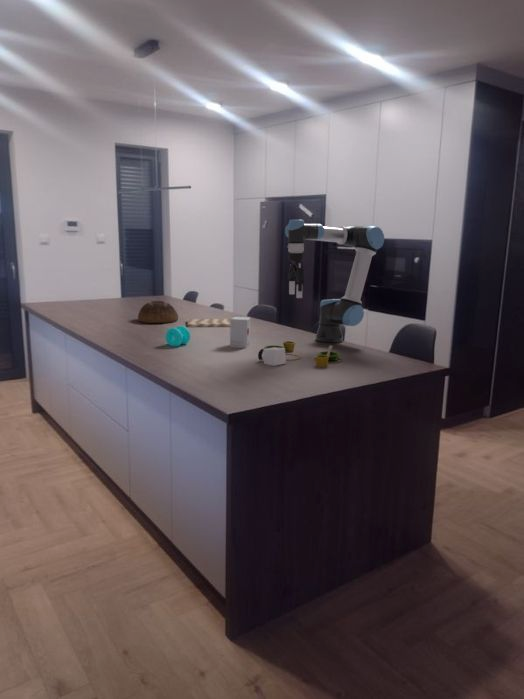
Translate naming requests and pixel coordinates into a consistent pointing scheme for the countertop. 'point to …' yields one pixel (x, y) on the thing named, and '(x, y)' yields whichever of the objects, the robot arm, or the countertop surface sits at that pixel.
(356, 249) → the robot arm
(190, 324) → the cutting board
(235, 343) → the supplement box
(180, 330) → the donuts
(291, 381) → the countertop surface
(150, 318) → the bread
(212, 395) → the countertop surface
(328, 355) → the tableware set
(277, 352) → the medicine bottle
